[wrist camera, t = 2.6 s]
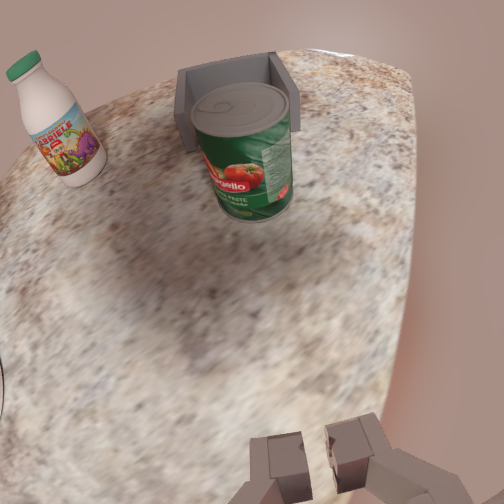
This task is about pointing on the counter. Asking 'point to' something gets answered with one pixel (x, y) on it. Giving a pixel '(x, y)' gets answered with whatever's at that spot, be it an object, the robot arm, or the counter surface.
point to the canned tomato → (247, 149)
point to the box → (225, 73)
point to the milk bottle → (56, 123)
